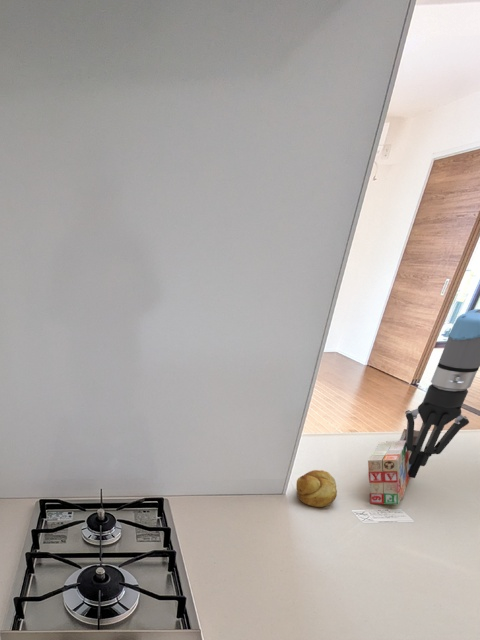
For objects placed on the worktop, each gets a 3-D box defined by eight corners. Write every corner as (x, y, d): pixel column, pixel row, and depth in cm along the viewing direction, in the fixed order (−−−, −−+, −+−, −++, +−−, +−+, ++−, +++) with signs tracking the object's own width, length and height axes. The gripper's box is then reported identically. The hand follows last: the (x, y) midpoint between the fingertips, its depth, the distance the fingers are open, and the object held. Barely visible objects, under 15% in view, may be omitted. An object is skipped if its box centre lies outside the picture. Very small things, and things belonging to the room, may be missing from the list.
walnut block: (416, 445, 139) (422, 431, 136) (418, 452, 135) (424, 437, 132) (398, 443, 141) (404, 428, 138) (399, 449, 137) (405, 435, 134)
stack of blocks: (387, 471, 126) (385, 430, 122) (413, 471, 122) (413, 429, 118) (369, 503, 113) (367, 459, 108) (398, 504, 109) (397, 458, 104)
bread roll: (301, 482, 123) (308, 456, 118) (338, 491, 118) (347, 465, 114) (289, 503, 114) (296, 477, 110) (329, 514, 110) (338, 487, 105)
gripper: (418, 388, 100) (384, 477, 114) (487, 394, 96) (443, 487, 109) (414, 378, 106) (382, 464, 119) (479, 384, 101) (438, 473, 114)
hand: (411, 475), depth 114 cm, fingers closed
